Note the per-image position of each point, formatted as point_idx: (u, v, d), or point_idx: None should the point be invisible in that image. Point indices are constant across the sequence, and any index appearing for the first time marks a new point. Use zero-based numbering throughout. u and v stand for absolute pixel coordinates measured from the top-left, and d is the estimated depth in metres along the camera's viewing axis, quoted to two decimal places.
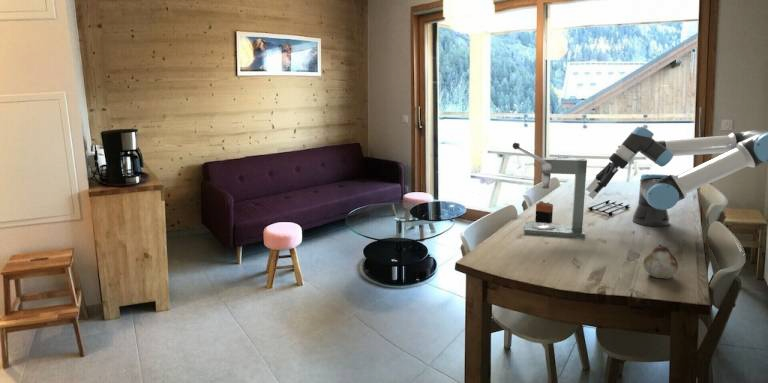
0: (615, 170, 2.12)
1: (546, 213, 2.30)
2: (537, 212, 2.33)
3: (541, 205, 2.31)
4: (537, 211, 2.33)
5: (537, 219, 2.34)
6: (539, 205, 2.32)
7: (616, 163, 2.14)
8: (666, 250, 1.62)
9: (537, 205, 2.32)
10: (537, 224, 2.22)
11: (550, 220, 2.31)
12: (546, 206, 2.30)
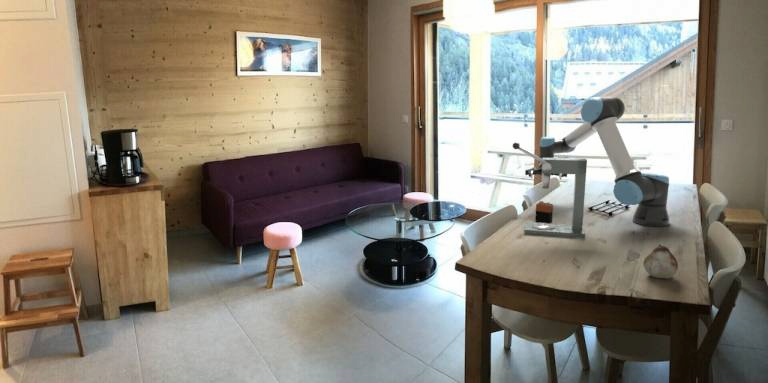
0: None
1: (546, 213, 2.30)
2: (537, 212, 2.33)
3: (541, 205, 2.31)
4: (537, 211, 2.33)
5: (537, 219, 2.34)
6: (539, 205, 2.32)
7: None
8: (666, 250, 1.62)
9: (537, 205, 2.32)
10: (537, 224, 2.22)
11: (550, 220, 2.31)
12: (546, 206, 2.30)
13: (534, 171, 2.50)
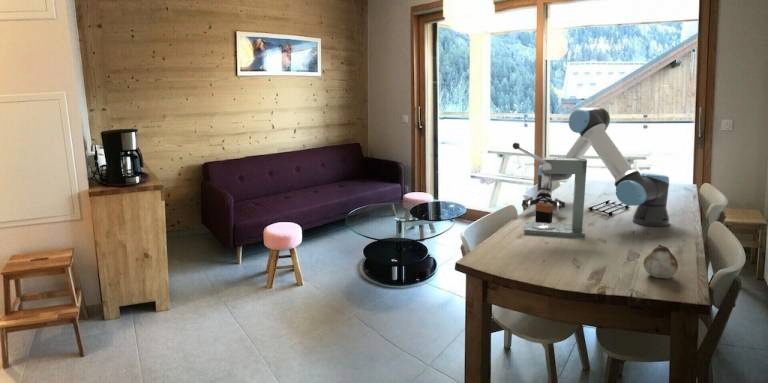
0: None
1: (546, 213, 2.30)
2: (537, 212, 2.33)
3: (541, 205, 2.31)
4: (537, 211, 2.33)
5: (537, 219, 2.34)
6: (539, 205, 2.32)
7: None
8: (666, 250, 1.62)
9: (537, 205, 2.32)
10: (537, 224, 2.22)
11: (550, 220, 2.31)
12: (546, 206, 2.30)
13: (531, 201, 2.48)
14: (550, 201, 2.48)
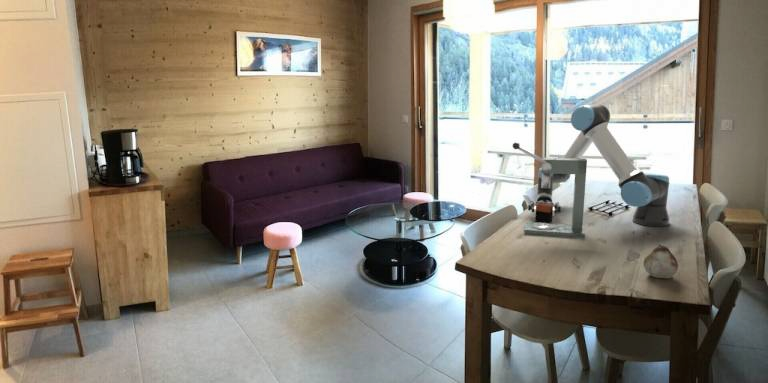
0: (530, 203, 2.45)
1: (546, 213, 2.30)
2: (537, 212, 2.33)
3: (541, 205, 2.31)
4: (537, 211, 2.33)
5: (537, 219, 2.34)
6: (539, 205, 2.32)
7: None
8: (666, 250, 1.62)
9: (537, 205, 2.32)
10: (537, 224, 2.22)
11: (550, 220, 2.31)
12: (546, 206, 2.30)
13: None
14: None
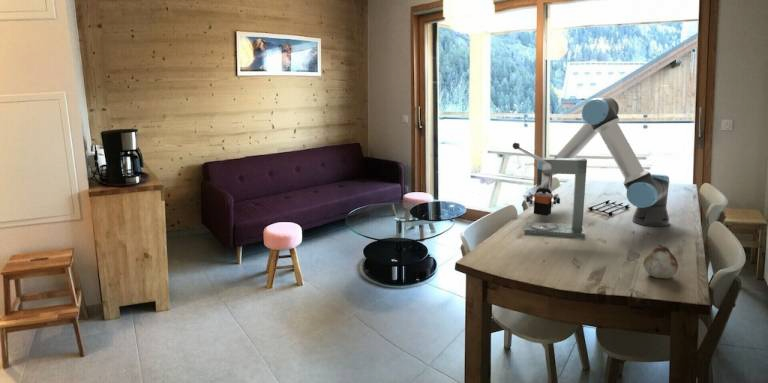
0: (529, 194, 2.37)
1: (545, 205, 2.22)
2: (535, 203, 2.25)
3: (540, 196, 2.23)
4: (535, 202, 2.25)
5: (535, 211, 2.26)
6: (537, 196, 2.24)
7: None
8: (666, 250, 1.62)
9: (535, 196, 2.24)
10: (537, 224, 2.22)
11: (549, 212, 2.23)
12: (545, 197, 2.22)
13: None
14: None
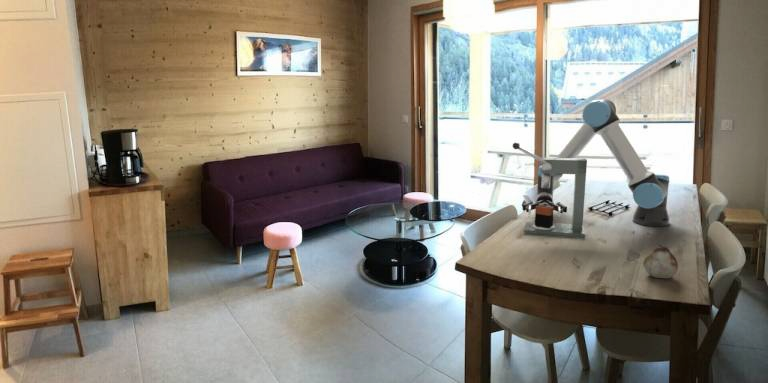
0: None
1: (547, 216, 2.16)
2: (537, 215, 2.19)
3: (541, 208, 2.17)
4: (537, 214, 2.19)
5: (537, 222, 2.19)
6: (539, 208, 2.17)
7: None
8: (666, 250, 1.62)
9: (537, 208, 2.18)
10: None
11: (551, 224, 2.17)
12: (546, 209, 2.15)
13: (532, 206, 2.25)
14: (551, 205, 2.25)
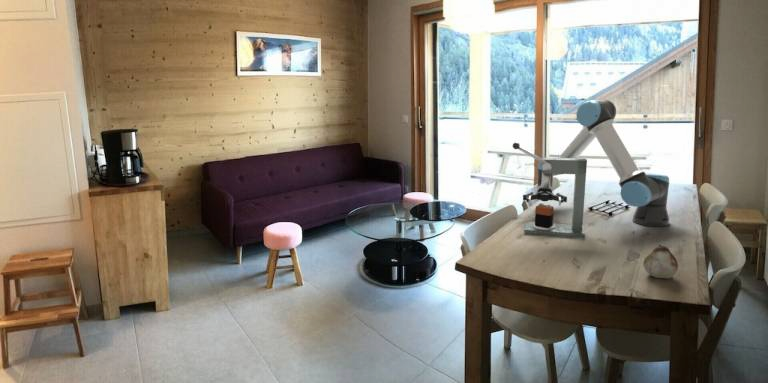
0: None
1: (547, 216, 2.16)
2: (537, 215, 2.19)
3: (541, 208, 2.17)
4: (537, 214, 2.19)
5: (537, 222, 2.19)
6: (539, 208, 2.17)
7: None
8: (666, 250, 1.62)
9: (537, 208, 2.18)
10: None
11: (551, 224, 2.17)
12: (546, 209, 2.15)
13: (532, 196, 2.39)
14: (551, 196, 2.39)
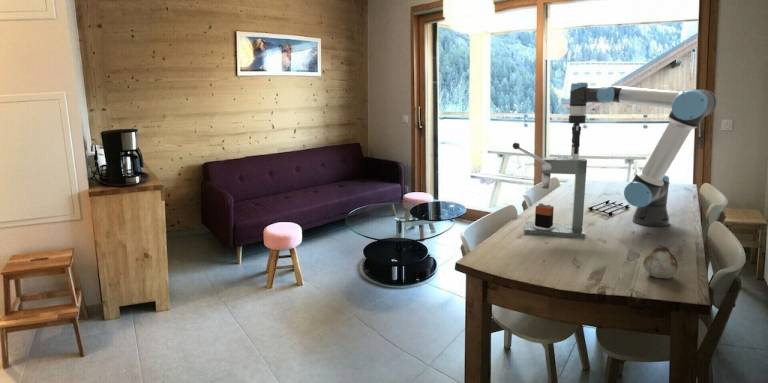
0: (578, 128, 2.30)
1: (547, 216, 2.16)
2: (537, 215, 2.19)
3: (541, 208, 2.17)
4: (537, 214, 2.19)
5: (537, 222, 2.19)
6: (539, 208, 2.17)
7: (575, 122, 2.33)
8: (666, 250, 1.62)
9: (537, 208, 2.18)
10: None
11: (551, 224, 2.17)
12: (546, 209, 2.15)
13: None
14: None
